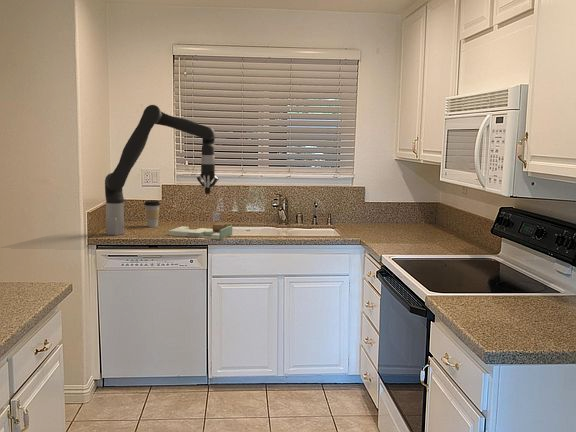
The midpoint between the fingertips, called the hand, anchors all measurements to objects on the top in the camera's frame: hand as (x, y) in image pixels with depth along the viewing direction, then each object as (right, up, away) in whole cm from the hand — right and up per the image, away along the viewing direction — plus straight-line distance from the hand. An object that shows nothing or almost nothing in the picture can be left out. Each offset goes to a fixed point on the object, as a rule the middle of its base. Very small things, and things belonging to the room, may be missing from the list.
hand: (207, 194), depth 331 cm
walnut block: (+7, -21, -4) cm, 22 cm away
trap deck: (-4, -23, -4) cm, 23 cm away
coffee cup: (-35, -19, +19) cm, 44 cm away
